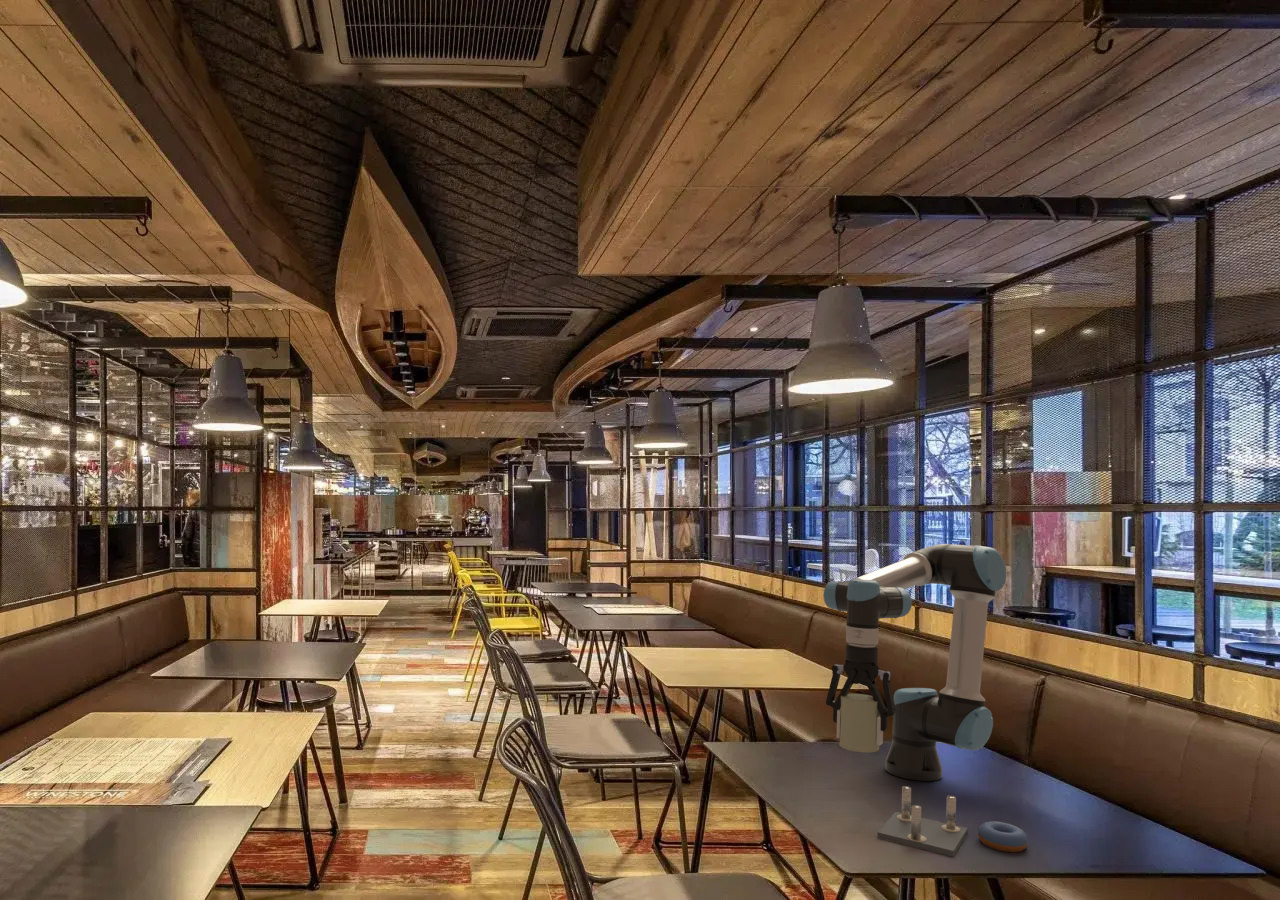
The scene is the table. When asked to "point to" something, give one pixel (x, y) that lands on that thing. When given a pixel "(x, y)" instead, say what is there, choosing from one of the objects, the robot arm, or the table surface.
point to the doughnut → (1002, 836)
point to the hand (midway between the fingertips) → (859, 740)
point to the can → (859, 723)
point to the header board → (924, 835)
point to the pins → (916, 813)
